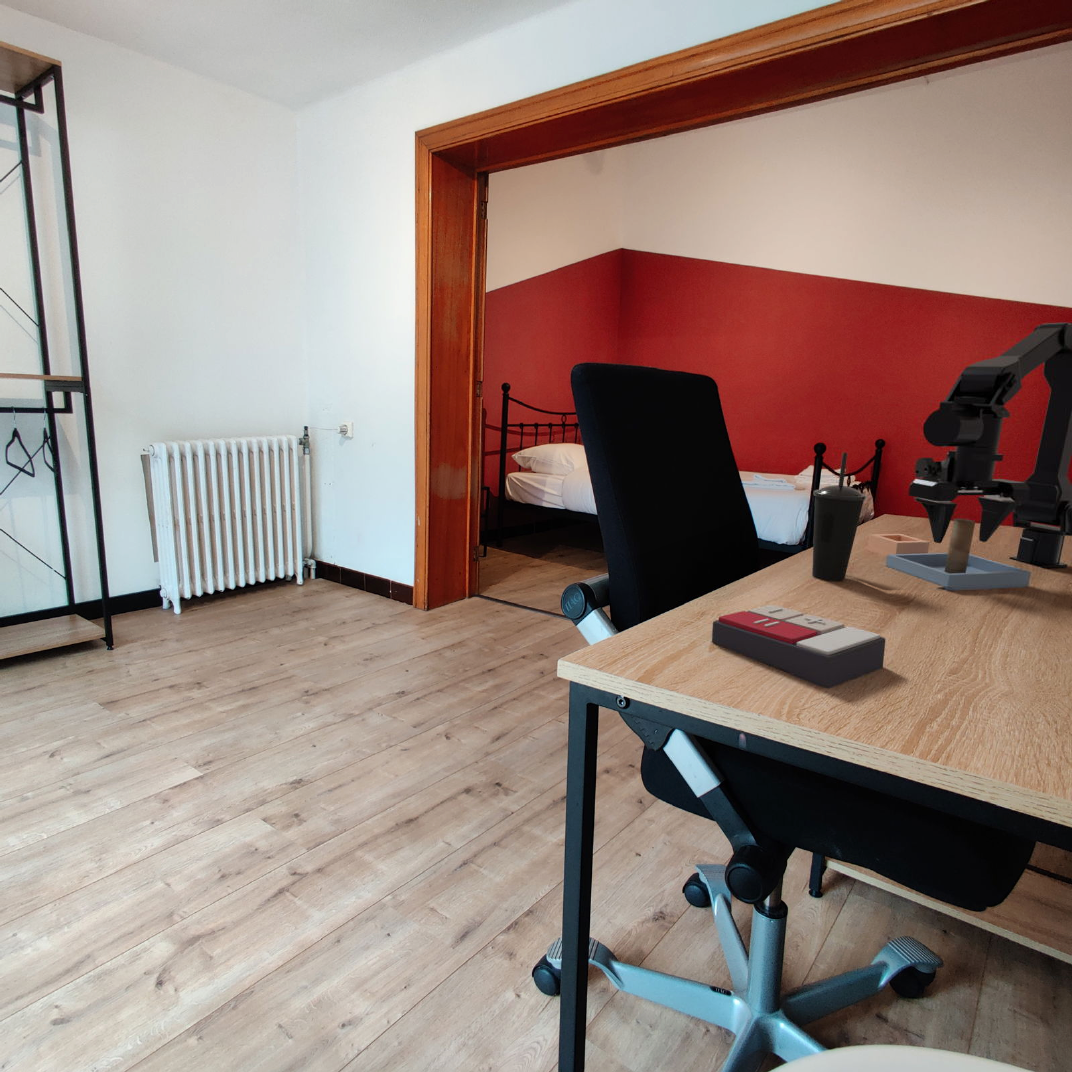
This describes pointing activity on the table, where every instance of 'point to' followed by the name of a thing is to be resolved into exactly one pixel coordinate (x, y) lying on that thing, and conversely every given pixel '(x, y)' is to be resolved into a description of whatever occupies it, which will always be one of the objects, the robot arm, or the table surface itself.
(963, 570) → the walnut dowel
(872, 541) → the terracotta socket
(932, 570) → the slate tray
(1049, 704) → the table surface
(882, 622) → the table surface
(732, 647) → the calculator
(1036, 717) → the table surface
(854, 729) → the table surface
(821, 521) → the drinking cup
